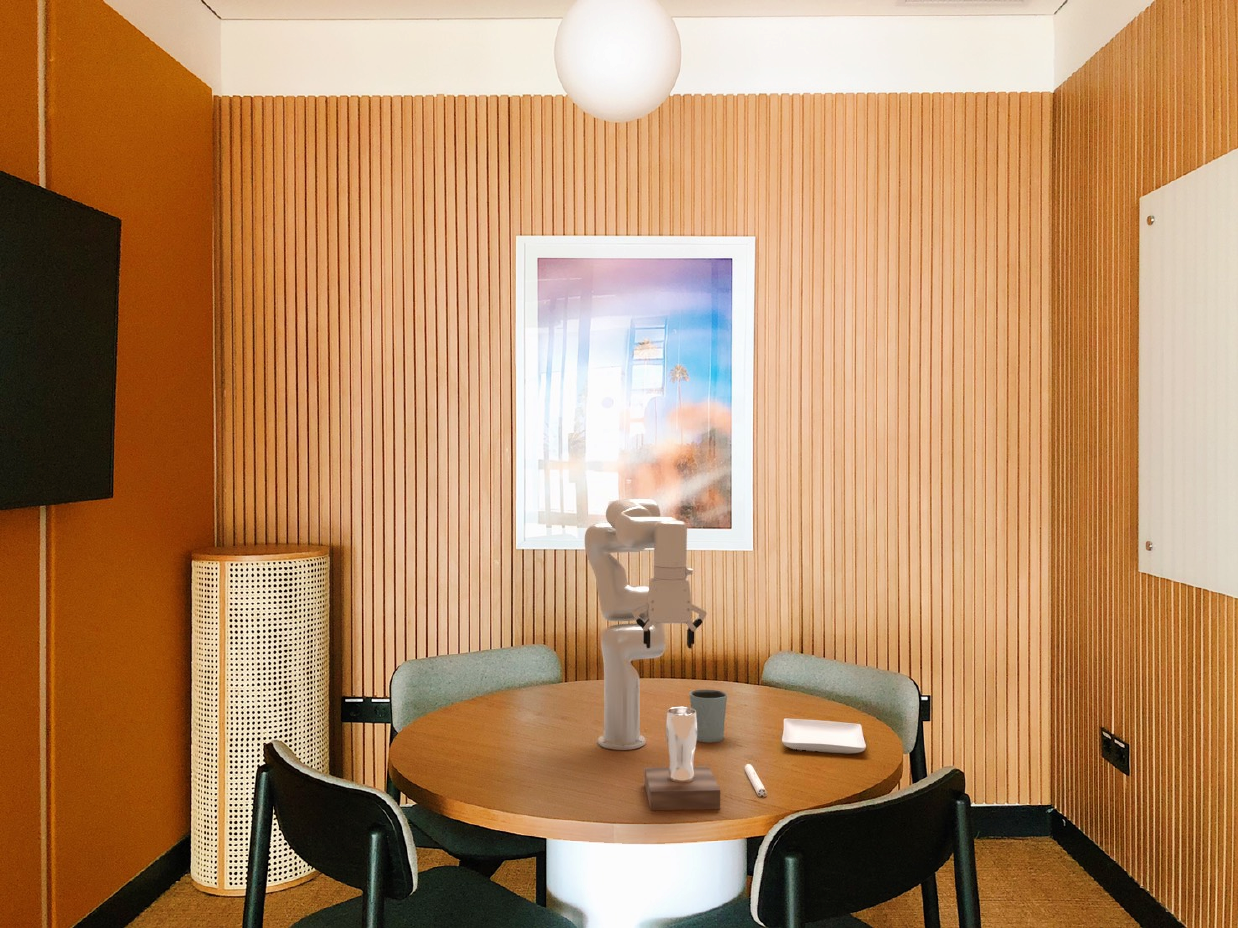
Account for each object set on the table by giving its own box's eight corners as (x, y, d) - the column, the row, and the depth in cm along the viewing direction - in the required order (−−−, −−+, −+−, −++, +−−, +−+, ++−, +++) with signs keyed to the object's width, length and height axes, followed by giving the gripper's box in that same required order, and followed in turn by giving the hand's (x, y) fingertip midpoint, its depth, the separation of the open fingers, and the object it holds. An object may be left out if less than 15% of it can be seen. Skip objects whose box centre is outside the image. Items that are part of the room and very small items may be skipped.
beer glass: (695, 772, 193) (695, 706, 193) (698, 783, 186) (698, 715, 186) (664, 772, 193) (665, 706, 193) (667, 783, 186) (667, 715, 186)
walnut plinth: (644, 784, 196) (644, 767, 196) (708, 783, 197) (708, 766, 197) (650, 810, 181) (650, 791, 181) (720, 808, 182) (720, 790, 182)
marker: (742, 769, 207) (742, 760, 207) (751, 769, 207) (751, 760, 207) (757, 798, 189) (757, 787, 189) (766, 797, 189) (766, 787, 189)
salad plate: (866, 759, 215) (866, 746, 215) (781, 753, 219) (781, 740, 219) (861, 734, 236) (861, 722, 236) (783, 729, 240) (783, 717, 240)
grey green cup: (683, 739, 230) (684, 695, 230) (698, 729, 239) (698, 687, 239) (719, 745, 225) (719, 700, 225) (732, 735, 234) (732, 691, 234)
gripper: (704, 571, 200) (703, 643, 201) (631, 571, 200) (630, 643, 200) (709, 576, 193) (708, 651, 193) (633, 576, 192) (632, 651, 192)
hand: (668, 647), depth 197 cm, fingers open, 9 cm apart
